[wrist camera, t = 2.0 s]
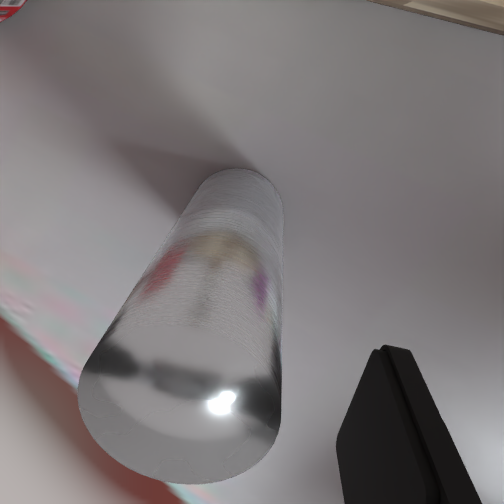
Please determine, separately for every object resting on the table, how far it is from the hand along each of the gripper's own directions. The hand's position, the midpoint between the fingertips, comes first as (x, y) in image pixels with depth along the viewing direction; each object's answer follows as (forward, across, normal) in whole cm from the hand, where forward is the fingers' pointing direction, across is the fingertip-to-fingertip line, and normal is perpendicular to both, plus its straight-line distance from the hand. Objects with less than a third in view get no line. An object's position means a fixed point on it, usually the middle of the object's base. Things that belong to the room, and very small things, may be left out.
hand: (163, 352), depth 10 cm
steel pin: (+10, -1, 0) cm, 10 cm away
